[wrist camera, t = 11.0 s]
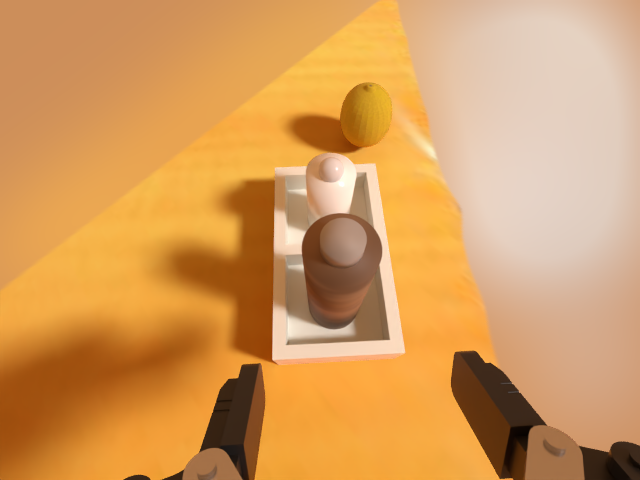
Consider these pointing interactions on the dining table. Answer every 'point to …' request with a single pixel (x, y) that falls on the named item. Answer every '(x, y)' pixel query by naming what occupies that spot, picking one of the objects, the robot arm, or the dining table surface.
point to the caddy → (290, 286)
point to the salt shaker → (329, 185)
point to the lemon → (366, 114)
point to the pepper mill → (339, 267)
